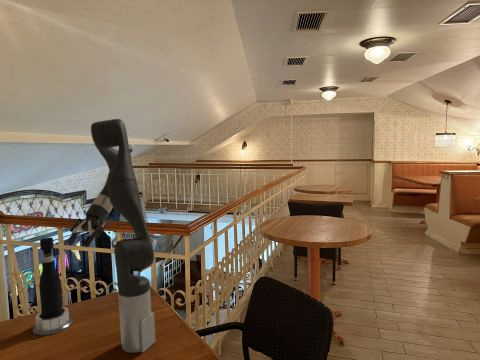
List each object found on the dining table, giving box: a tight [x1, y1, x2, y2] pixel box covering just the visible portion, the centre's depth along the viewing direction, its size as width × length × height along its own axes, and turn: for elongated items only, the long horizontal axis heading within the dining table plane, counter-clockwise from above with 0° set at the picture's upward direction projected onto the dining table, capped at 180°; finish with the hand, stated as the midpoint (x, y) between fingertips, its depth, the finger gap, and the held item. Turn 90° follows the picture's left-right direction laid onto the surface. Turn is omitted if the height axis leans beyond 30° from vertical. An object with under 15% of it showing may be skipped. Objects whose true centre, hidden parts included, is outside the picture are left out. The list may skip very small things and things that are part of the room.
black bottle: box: [38, 237, 64, 319], centre depth 113 cm, size 6×6×30 cm
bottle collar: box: [32, 306, 74, 337], centre depth 114 cm, size 12×12×5 cm
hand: (77, 244), depth 122 cm, fingers open, 8 cm apart
